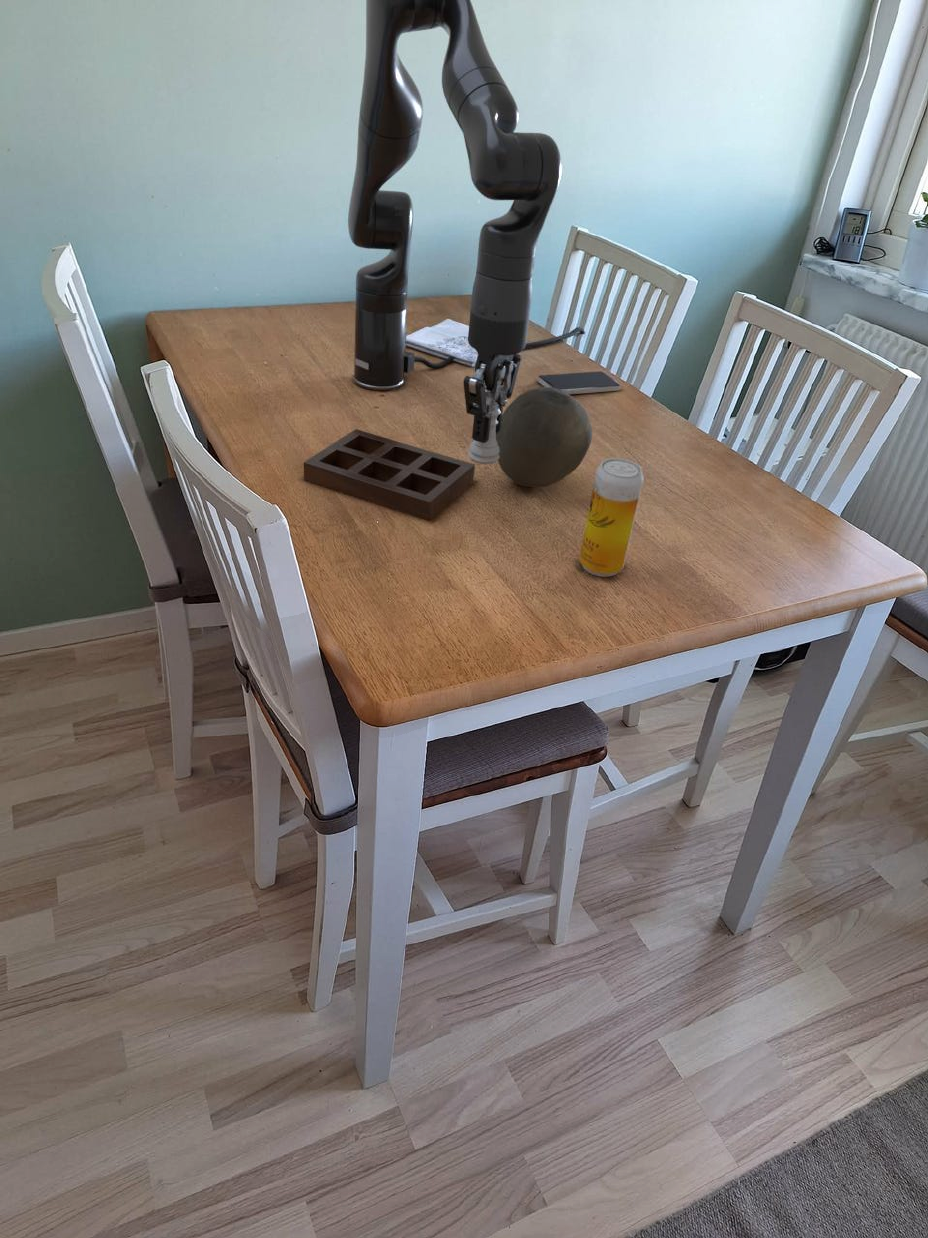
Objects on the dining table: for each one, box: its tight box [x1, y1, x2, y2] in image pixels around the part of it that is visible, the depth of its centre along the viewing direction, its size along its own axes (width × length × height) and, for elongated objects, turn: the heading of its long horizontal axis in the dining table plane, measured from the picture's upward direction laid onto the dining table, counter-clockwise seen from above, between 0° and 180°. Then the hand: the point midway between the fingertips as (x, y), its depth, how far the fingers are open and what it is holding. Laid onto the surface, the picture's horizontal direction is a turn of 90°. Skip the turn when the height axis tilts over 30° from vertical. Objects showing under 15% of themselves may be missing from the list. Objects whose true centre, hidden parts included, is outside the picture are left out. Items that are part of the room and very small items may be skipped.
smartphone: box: [537, 371, 622, 395], centre depth 177 cm, size 8×1×15 cm
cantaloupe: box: [496, 386, 593, 488], centre depth 136 cm, size 14×14×15 cm
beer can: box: [579, 457, 644, 578], centre depth 118 cm, size 6×6×15 cm
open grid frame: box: [303, 428, 476, 521], centre depth 136 cm, size 15×21×3 cm
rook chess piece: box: [467, 402, 501, 465], centre depth 123 cm, size 4×4×8 cm
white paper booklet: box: [406, 318, 478, 368], centre depth 189 cm, size 19×20×2 cm
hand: (486, 435), depth 123 cm, fingers closed on rook chess piece, 3 cm apart
